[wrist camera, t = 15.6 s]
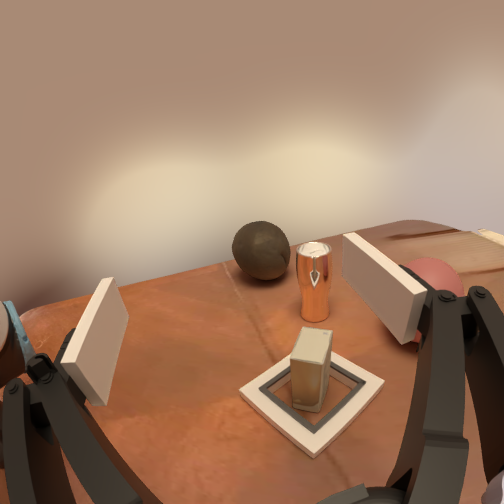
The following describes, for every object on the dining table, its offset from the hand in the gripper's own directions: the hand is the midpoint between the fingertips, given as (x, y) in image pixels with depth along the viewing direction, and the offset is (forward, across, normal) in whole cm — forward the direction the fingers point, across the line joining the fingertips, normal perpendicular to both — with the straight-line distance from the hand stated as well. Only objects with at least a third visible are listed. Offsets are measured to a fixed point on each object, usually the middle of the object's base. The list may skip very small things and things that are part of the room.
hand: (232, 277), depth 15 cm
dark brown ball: (+50, +10, -30) cm, 59 cm away
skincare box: (+11, +9, -30) cm, 33 cm away
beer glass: (+31, +16, -30) cm, 46 cm away
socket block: (+11, +9, -30) cm, 33 cm away
